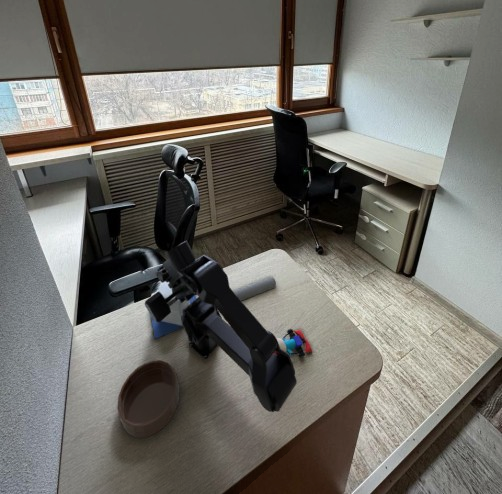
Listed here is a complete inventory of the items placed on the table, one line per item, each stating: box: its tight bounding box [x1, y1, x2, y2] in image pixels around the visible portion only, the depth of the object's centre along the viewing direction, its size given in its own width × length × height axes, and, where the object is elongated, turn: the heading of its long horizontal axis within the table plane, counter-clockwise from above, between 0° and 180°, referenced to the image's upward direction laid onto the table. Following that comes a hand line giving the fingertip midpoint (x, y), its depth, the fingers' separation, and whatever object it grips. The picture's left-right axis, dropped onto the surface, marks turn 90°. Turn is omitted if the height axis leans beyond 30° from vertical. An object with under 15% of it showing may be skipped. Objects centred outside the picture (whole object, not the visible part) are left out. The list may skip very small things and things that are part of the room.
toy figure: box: [274, 328, 313, 358], centre depth 71 cm, size 8×5×15 cm
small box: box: [155, 281, 190, 326], centre depth 80 cm, size 8×6×10 cm
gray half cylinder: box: [232, 276, 277, 302], centre depth 89 cm, size 4×20×2 cm, turn 115°
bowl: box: [117, 359, 180, 438], centre depth 61 cm, size 13×13×4 cm
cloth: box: [150, 295, 197, 340], centre depth 82 cm, size 14×9×1 cm, turn 117°
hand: (170, 293), depth 80 cm, fingers open, 9 cm apart
